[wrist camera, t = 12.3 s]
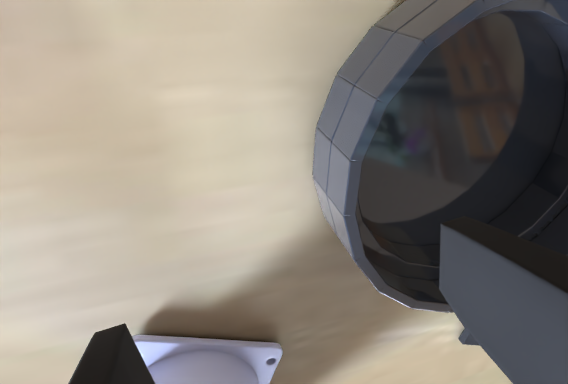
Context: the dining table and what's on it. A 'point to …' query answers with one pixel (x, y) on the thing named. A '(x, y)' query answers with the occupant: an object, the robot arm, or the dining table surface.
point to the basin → (446, 136)
